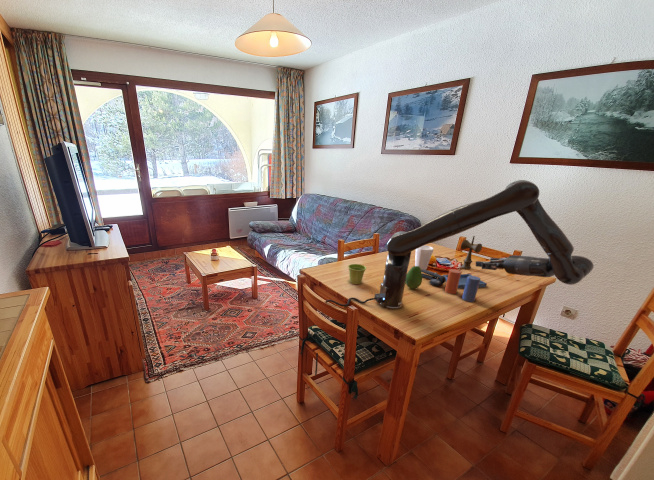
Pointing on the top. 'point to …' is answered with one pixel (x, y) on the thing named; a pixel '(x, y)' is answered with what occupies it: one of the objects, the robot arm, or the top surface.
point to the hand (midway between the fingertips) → (483, 262)
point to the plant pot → (356, 273)
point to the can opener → (434, 281)
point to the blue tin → (471, 288)
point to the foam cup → (423, 256)
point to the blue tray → (463, 281)
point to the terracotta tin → (452, 281)
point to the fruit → (414, 277)
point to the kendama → (470, 252)
